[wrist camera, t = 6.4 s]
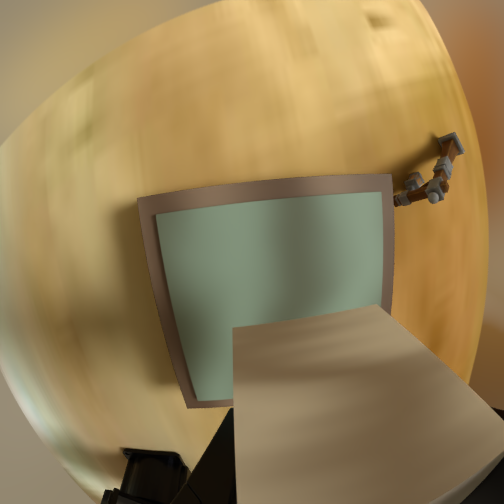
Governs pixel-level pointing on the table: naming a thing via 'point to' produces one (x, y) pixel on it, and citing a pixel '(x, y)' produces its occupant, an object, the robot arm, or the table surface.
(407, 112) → the table surface
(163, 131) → the table surface
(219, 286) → the brown and green tray
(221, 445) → the robot arm
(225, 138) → the table surface
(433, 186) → the grey brown jointed piece
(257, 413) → the maple block
